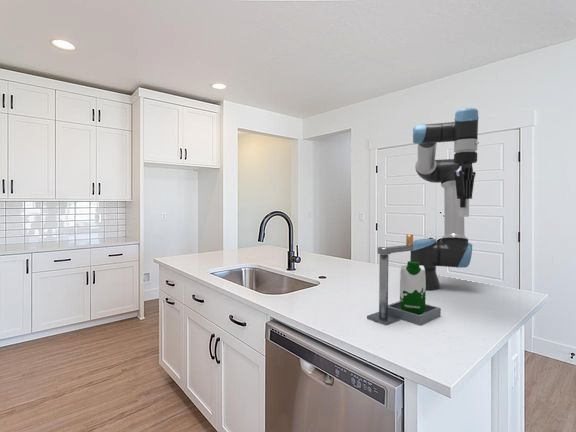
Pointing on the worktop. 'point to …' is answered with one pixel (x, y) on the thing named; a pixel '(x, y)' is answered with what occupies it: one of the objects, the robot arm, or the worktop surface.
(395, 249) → the crank handle
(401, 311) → the socket frame
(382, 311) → the post
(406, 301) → the soya milk
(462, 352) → the worktop surface
